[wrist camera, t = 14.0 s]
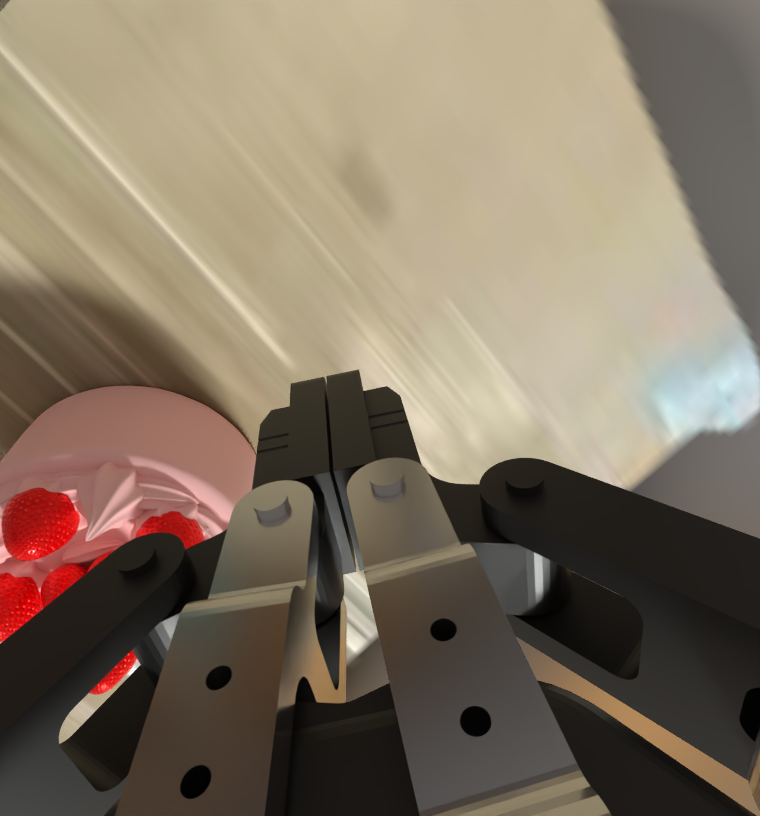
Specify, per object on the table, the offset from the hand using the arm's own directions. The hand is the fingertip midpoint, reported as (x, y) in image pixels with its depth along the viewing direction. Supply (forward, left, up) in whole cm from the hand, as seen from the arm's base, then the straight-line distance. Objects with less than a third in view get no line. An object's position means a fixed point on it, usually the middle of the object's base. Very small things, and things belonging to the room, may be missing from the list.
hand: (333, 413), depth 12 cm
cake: (-19, -20, -29) cm, 40 cm away
